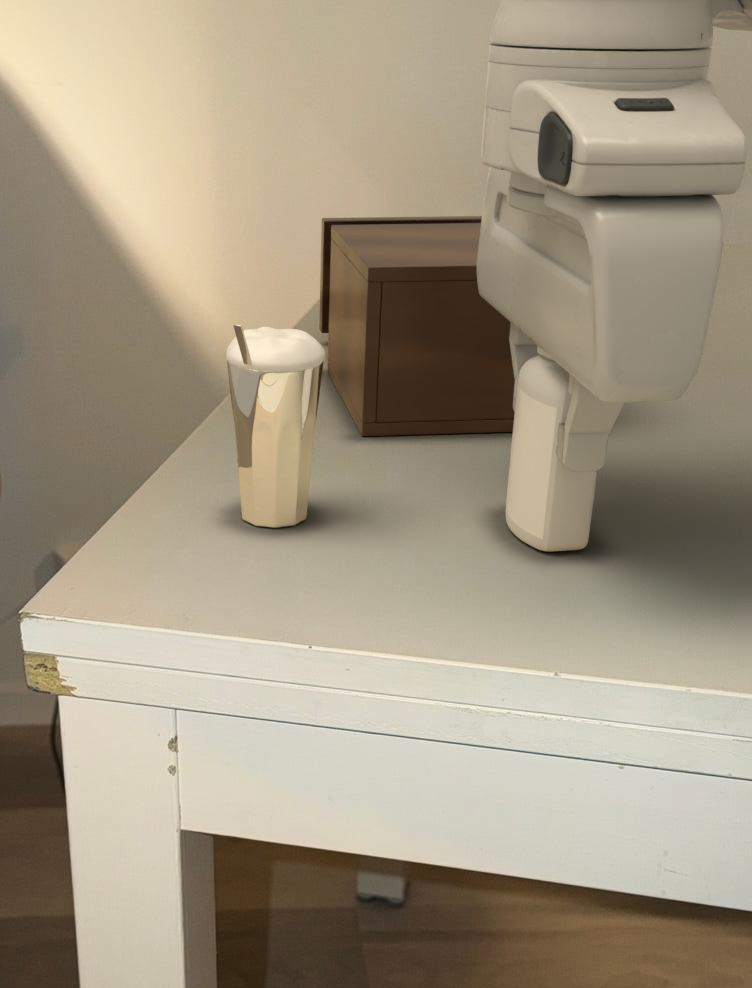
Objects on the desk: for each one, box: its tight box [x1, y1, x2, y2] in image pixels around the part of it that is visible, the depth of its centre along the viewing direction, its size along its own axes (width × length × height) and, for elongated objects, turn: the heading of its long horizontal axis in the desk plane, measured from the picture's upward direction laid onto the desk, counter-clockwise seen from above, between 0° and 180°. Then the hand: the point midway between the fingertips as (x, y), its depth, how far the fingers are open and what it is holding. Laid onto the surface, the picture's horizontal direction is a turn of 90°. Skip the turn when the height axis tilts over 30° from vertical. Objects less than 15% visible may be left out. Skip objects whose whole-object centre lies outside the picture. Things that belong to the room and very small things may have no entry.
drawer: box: [318, 215, 482, 334], centre depth 90 cm, size 18×11×8 cm, turn 6°
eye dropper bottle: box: [505, 346, 598, 553], centre depth 60 cm, size 4×6×12 cm
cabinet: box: [327, 223, 515, 437], centre depth 80 cm, size 14×13×10 cm
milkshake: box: [225, 323, 326, 529], centre depth 62 cm, size 4×5×10 cm
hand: (555, 441), depth 61 cm, fingers closed on eye dropper bottle, 5 cm apart
